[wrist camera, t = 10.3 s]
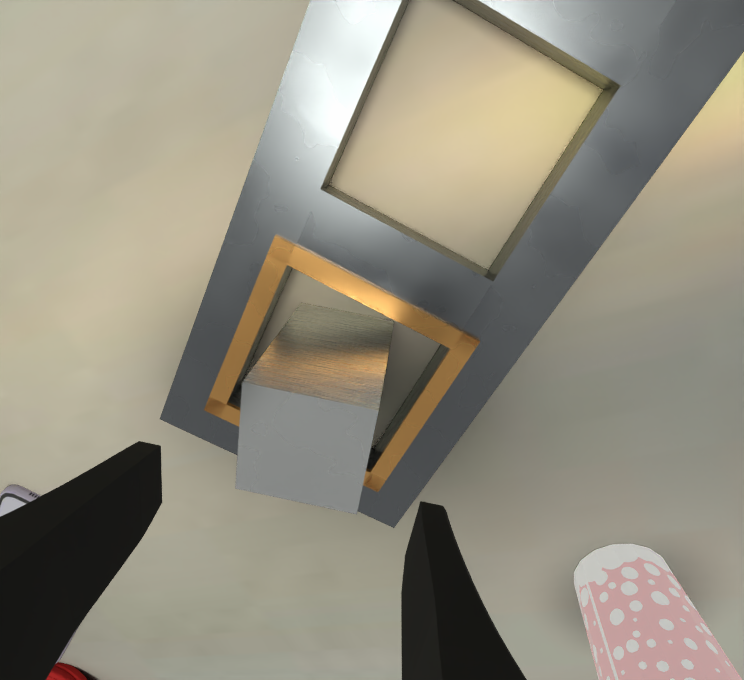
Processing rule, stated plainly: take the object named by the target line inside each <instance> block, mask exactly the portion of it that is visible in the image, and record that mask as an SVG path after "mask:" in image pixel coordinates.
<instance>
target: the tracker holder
mask: <svg viewBox="0 0 744 680" xmlns="http://www.w3.org/2000/svg"><path fill="white" fill-rule="evenodd" d="M46 680H87V679H86V677H85V676H84V675H83V674H82V673H81V672H80V671H79V670H78V669H76V668H75V667H73V666H71V665H68V664H64V663H59V662H57V663H56V664H55V665H54V667H53V669H52V670H51V672H50V674H49V675H48V677H47V679H46Z"/></svg>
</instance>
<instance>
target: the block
mask: <svg viewBox="0 0 744 680" xmlns="http://www.w3.org/2000/svg"><path fill="white" fill-rule="evenodd" d="M393 325H394V321H391V320H386V319H381V318H376V317H371V316H366V315H361V314H357V313H352V312H347V311H342V310H337V309H332V308H327V307H322V306H317V305H312V304H307V303H301V304H300V305H299V307H298V308H297V309H296V311H295V312H294V313H293V315H292V316H291V317H290V319H289V320H288V321H287V323H286V324H285V325H284V327H283V328H282V329H281V331H280V332H279V333H278V335H277V336H276V337H275V339H274V340H273V341H272V343H271V344H270V346H269V347H268V348H267V350H266V351H265V352H264V354H263V355H262V356H261V358H260V359H259V360H258V362H257V363H256V364H255V366H254V367H253V368H252V370H251V371H250V372H249V374H248V375H247V376H246V378H245V379H244V380H243V382H242V393H241V408H240V424H239V439H238V455H237V471H236V486H235V488H236V489H240V490H245V491H250V492H255V493H259V494H264V495H269V496H273V497H278V498H283V499H287V500H292V501H297V502H301V503H306V504H311V505H315V506H320V507H325V508H330V509H334V510H339V511H344V512H348V513H353V514H357V510H358V506H359V501H360V496H361V491H362V487H363V482H364V477H365V473H366V468H367V463H368V458H369V454H370V449H371V444H372V440H373V435H374V430H375V425H376V421H377V416H378V411H379V406H380V400H381V394H382V388H383V383H384V377H385V371H386V365H387V359H388V354H389V348H390V342H391V336H392V331H393Z"/></svg>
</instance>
